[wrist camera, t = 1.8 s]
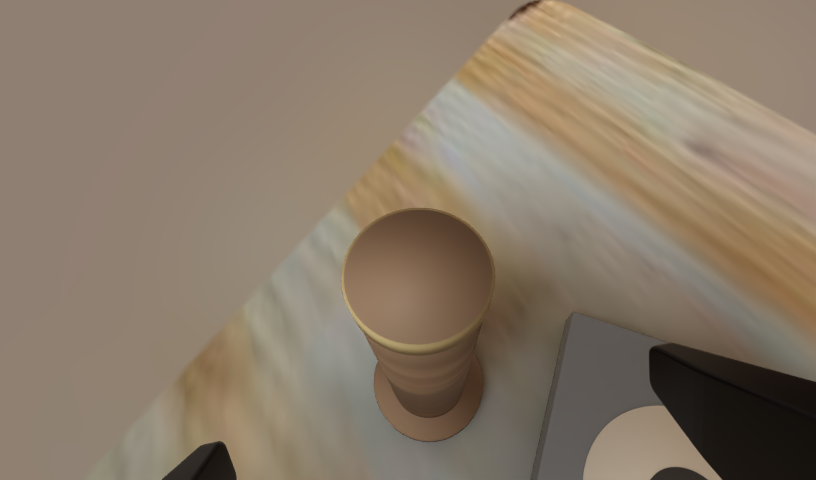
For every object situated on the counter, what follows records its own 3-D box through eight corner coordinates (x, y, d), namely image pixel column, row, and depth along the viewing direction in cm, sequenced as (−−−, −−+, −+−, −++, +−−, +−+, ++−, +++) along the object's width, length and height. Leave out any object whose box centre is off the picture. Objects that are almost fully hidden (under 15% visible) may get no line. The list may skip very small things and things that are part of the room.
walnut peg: (462, 460, 17) (496, 433, 7) (360, 416, 18) (261, 336, 8) (493, 354, 19) (556, 213, 9) (400, 320, 20) (362, 160, 10)
